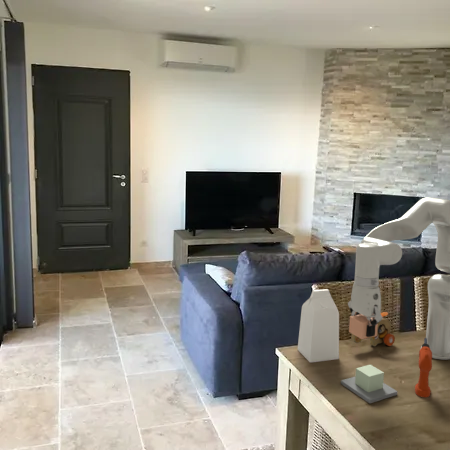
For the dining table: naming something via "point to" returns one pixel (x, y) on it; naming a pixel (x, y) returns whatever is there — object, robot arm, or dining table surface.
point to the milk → (319, 328)
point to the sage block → (369, 378)
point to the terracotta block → (360, 326)
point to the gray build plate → (369, 396)
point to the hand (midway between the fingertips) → (363, 331)
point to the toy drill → (424, 370)
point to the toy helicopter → (380, 333)
